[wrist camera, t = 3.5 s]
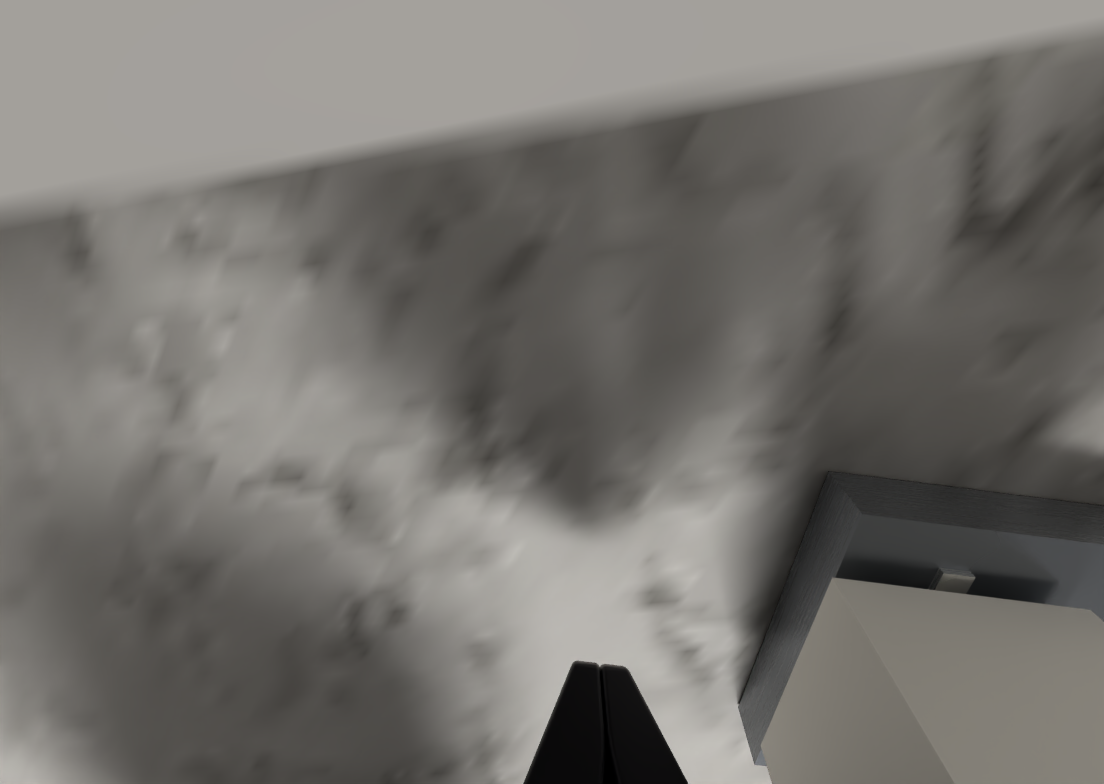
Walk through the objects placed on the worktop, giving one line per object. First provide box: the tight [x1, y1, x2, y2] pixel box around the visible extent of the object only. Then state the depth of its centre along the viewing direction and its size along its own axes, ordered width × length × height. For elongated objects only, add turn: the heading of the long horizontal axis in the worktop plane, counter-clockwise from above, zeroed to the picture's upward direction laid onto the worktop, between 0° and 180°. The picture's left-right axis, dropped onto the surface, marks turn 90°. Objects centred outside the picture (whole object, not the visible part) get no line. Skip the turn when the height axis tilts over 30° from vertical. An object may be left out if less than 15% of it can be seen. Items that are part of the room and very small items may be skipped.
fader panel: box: [738, 471, 1104, 766], centre depth 10 cm, size 8×6×1 cm
